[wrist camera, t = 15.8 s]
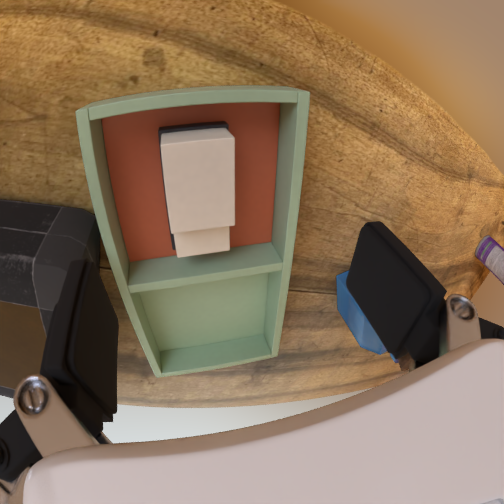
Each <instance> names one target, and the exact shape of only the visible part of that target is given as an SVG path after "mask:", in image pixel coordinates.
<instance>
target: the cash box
mask: <svg viewBox="0 0 504 504" xmlns="http://www.w3.org/2000/svg"><path fill="white" fill-rule="evenodd" d="M85 258H88V259H89V260H90V262H94V263H95V264H96V267H97V269H98V272H99V261H100V230H99V227H98V223H97V219H96V216H95V215H93V214H91V213H89V212H87V211H85V210H84V209H80V208H71V207H63V206H56V205H47V204H39V203H30V202H21V201H12V200H2V199H0V395H2V396H6V397H10V398H13V396H14V392H15V389H16V387H17V385H18V383H19V382H20V381H21V380H22V379H23V378H25V377H26V376H28V375H31V374H40V368H41V362H42V357H43V352H44V347H45V342H46V338H47V333H48V329H49V325H50V321H51V317H52V313H53V310H54V307H55V305H56V304H57V303H58V301H59V298H60V294H61V291H62V287H63V284H64V281H65V278H66V275H67V271H68V268H69V265H70V263H71V261H72V260H78V259H85Z"/></svg>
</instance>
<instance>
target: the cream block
mask: <svg viewBox="0 0 504 504" xmlns="http://www.w3.org/2000/svg"><path fill="white" fill-rule="evenodd" d="M158 137H159V148H160V159H161V168H162V177H163V186H164V194H165V202H166V209H167V216H168V223H169V230H170V236H171V243H172V249H173V250H176V253H177V257H178V258H180V257H187V256H194V255H201V254H208V253H215V252H222V251H229V250H230V226H234V225H235V138H234V137H233V135H232V134H231V133H230V132H229V125H228V123H227V122H225V121H217V122H203V123H192V124H182V125H173V126H164V127H159V129H158Z"/></svg>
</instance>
